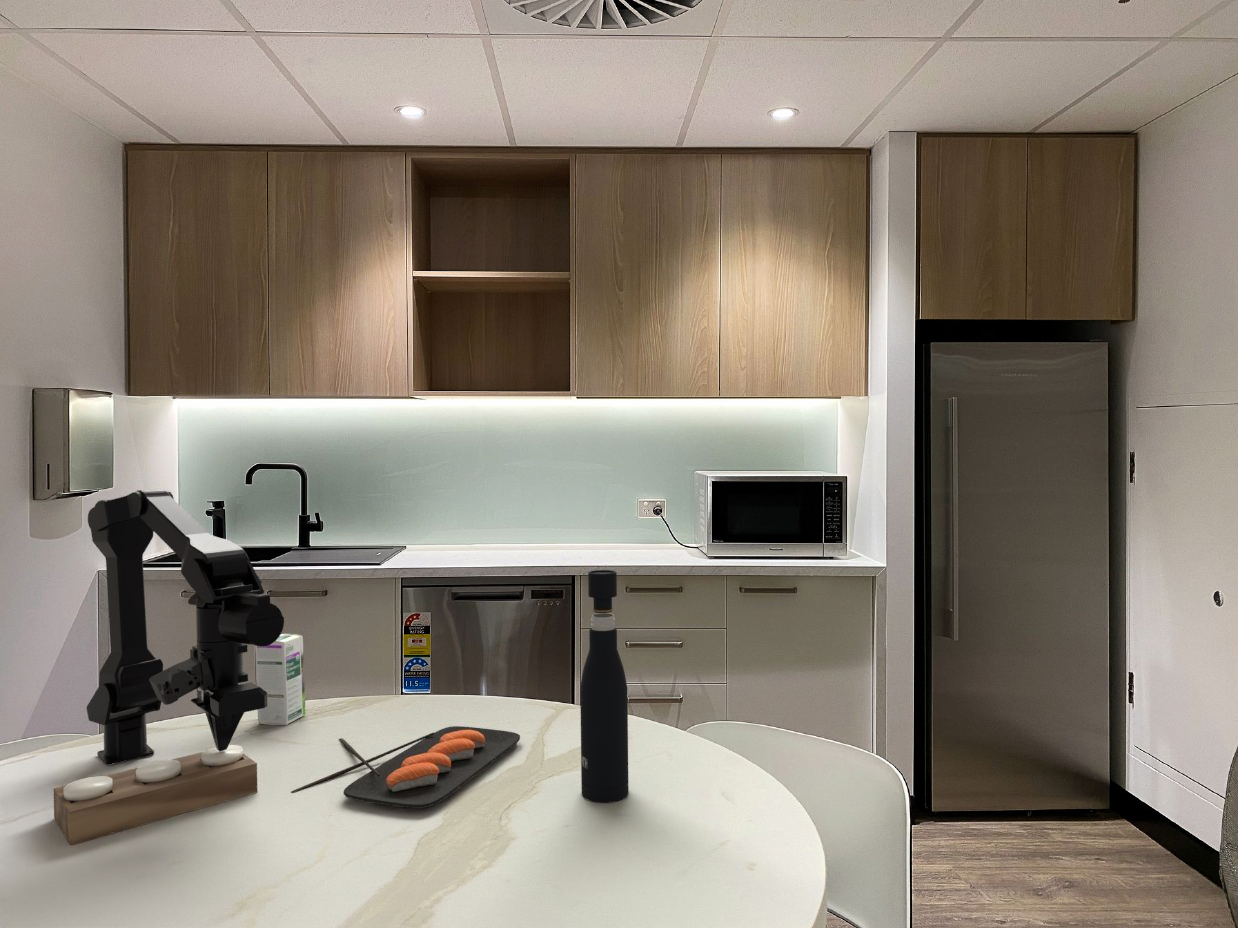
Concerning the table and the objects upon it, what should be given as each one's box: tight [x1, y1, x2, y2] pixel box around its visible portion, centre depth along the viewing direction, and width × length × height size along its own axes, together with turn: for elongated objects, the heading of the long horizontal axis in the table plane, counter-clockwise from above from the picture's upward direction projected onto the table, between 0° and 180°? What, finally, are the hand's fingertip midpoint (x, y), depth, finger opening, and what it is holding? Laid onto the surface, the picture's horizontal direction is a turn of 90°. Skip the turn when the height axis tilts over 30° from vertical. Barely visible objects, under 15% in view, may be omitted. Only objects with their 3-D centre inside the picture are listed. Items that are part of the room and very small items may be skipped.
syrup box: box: [254, 633, 306, 726], centre depth 145 cm, size 6×6×14 cm
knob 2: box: [201, 744, 244, 768], centre depth 116 cm, size 5×5×4 cm
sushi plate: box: [290, 725, 521, 809], centre depth 124 cm, size 29×30×4 cm
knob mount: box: [52, 751, 258, 846], centre depth 111 cm, size 10×22×4 cm, turn 133°
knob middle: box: [136, 759, 181, 785], centre depth 111 cm, size 5×5×4 cm
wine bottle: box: [579, 569, 630, 804], centre depth 113 cm, size 6×6×30 cm
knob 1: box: [64, 775, 113, 803], centre depth 105 cm, size 5×5×4 cm
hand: (221, 749), depth 116 cm, fingers closed
